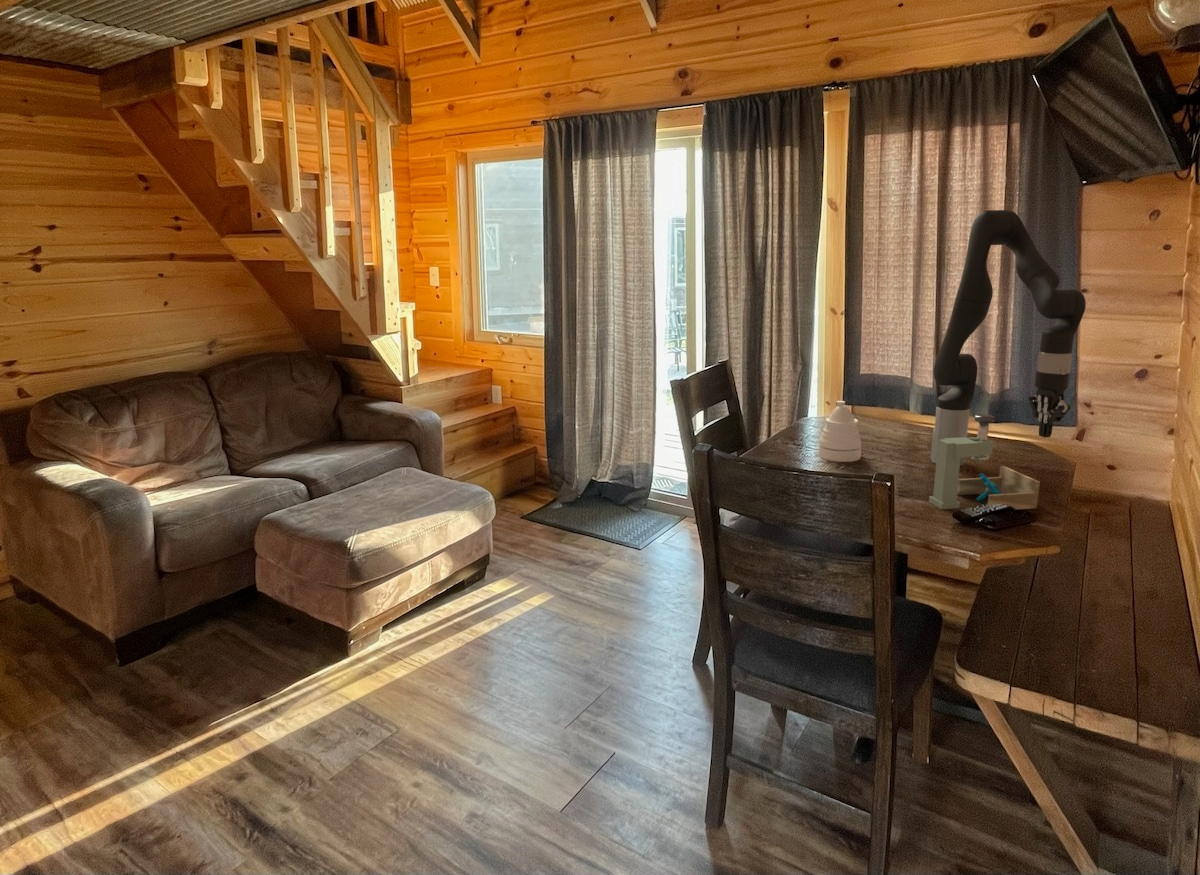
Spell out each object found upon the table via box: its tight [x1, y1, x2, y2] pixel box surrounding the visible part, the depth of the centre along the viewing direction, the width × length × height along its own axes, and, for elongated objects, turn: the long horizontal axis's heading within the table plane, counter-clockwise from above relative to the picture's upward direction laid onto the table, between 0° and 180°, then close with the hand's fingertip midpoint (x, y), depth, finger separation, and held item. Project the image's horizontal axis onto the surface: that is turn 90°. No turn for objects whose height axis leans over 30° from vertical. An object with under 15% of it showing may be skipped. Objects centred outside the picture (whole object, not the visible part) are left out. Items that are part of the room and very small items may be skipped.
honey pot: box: [817, 400, 862, 463], centre depth 251 cm, size 13×13×18 cm
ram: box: [970, 413, 995, 462], centre depth 204 cm, size 4×4×11 cm
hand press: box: [928, 436, 994, 510], centre depth 206 cm, size 6×13×17 cm, turn 98°
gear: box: [976, 472, 1003, 502], centre depth 209 cm, size 11×6×10 cm
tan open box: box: [957, 465, 1041, 510], centre depth 208 cm, size 14×13×7 cm
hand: (1044, 436), depth 207 cm, fingers closed
